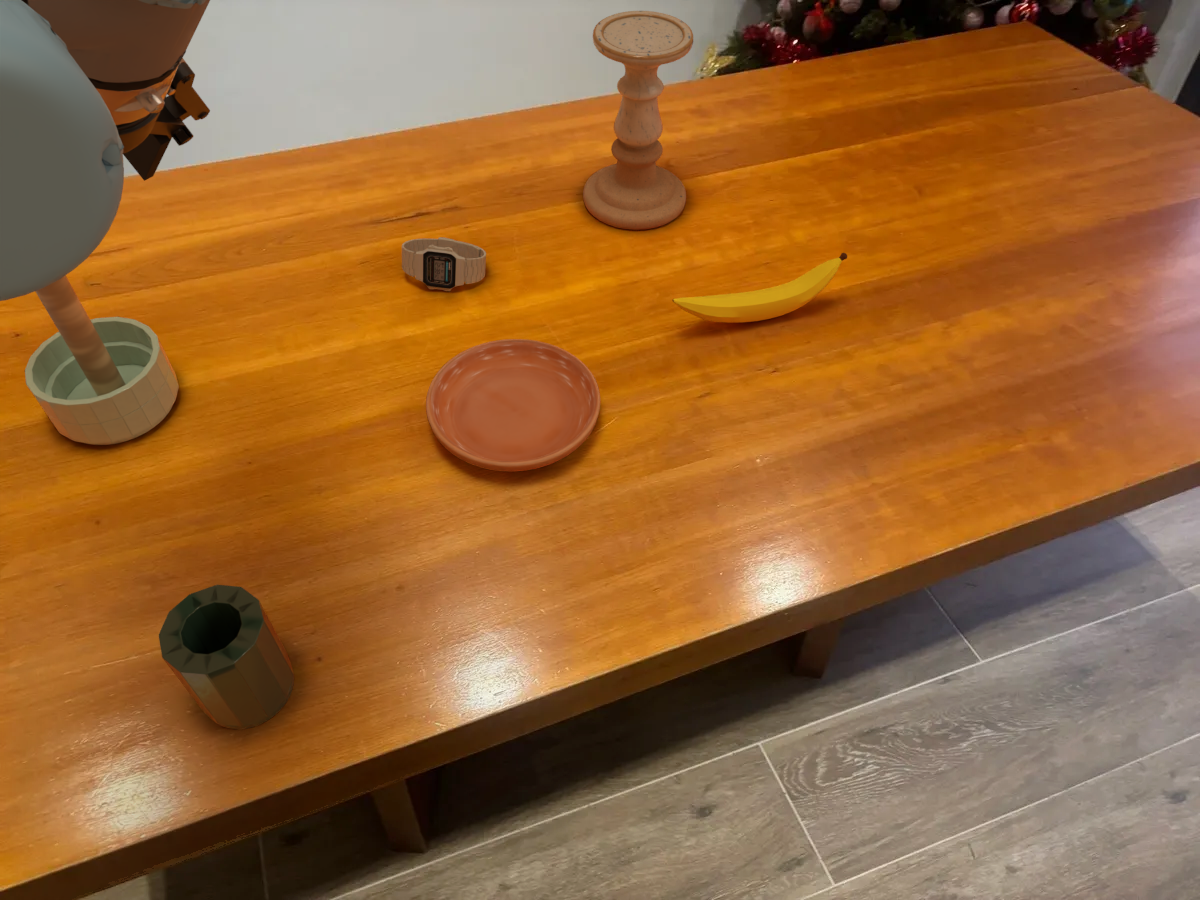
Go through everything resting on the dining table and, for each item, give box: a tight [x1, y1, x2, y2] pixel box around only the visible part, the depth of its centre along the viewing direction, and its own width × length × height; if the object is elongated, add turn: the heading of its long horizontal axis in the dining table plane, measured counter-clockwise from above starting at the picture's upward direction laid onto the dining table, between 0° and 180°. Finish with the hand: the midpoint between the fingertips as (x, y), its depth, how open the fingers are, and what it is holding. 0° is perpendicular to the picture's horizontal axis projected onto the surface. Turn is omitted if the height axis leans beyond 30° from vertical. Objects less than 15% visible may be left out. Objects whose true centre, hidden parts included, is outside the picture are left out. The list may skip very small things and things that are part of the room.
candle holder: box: [582, 10, 694, 231], centre depth 100 cm, size 12×12×20 cm
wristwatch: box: [401, 236, 487, 292], centre depth 97 cm, size 9×6×5 cm
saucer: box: [425, 338, 601, 472], centre depth 84 cm, size 16×16×3 cm
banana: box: [671, 252, 848, 323], centre depth 92 cm, size 3×19×6 cm, turn 108°
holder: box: [158, 584, 295, 730], centre depth 64 cm, size 7×7×9 cm
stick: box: [34, 275, 126, 396], centre depth 75 cm, size 3×3×24 cm
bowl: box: [24, 316, 180, 446], centre depth 83 cm, size 11×11×6 cm
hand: (49, 206), depth 61 cm, fingers open, 13 cm apart
